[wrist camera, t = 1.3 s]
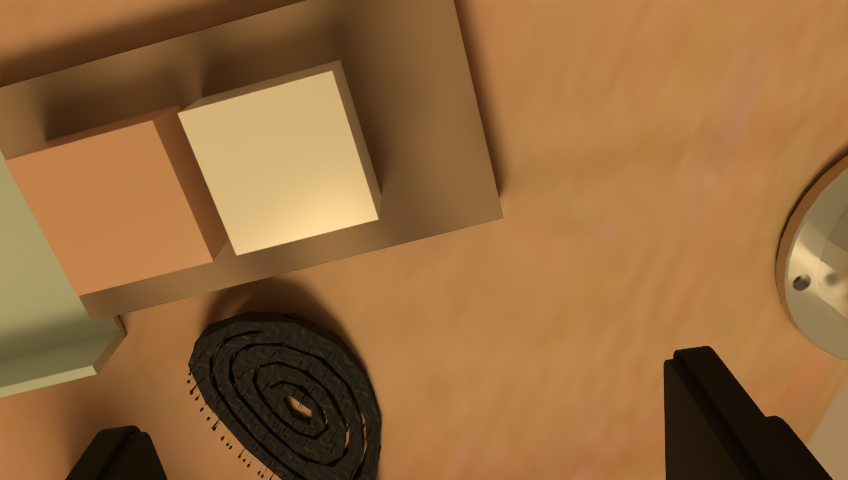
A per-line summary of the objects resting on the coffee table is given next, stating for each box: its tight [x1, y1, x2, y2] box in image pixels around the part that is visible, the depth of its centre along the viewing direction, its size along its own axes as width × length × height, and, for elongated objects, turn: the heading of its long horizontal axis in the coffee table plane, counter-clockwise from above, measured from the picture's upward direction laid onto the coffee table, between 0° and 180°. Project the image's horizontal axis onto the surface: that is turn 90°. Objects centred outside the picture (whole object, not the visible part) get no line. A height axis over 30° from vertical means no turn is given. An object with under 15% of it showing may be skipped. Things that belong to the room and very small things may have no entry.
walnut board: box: [0, 0, 503, 322], centre depth 29 cm, size 20×11×2 cm, turn 105°
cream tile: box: [178, 60, 381, 256], centre depth 26 cm, size 6×6×3 cm
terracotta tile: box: [5, 104, 229, 296], centre depth 27 cm, size 6×6×3 cm
